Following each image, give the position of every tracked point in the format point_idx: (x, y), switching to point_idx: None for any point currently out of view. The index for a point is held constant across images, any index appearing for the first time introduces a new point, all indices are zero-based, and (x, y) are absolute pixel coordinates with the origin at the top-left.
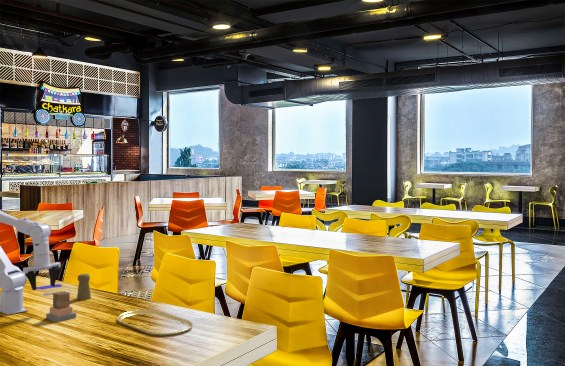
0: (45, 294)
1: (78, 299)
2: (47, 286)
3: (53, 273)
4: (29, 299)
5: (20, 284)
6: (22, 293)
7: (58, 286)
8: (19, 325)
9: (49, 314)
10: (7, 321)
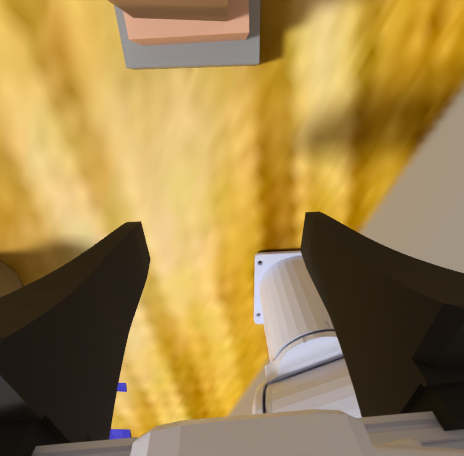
0: (118, 388)
1: (15, 275)
2: None
3: (75, 319)
4: (181, 370)
5: (304, 378)
6: (285, 323)
7: None
8: (423, 34)
9: (256, 16)
10: (397, 162)
